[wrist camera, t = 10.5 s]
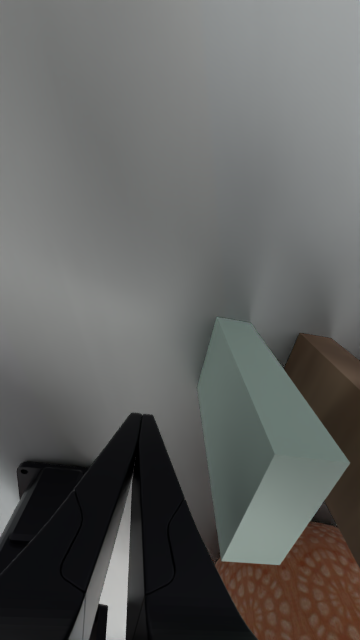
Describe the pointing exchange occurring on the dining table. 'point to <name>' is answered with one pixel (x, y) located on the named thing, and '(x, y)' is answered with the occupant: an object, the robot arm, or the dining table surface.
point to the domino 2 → (334, 419)
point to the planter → (300, 590)
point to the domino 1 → (260, 448)
